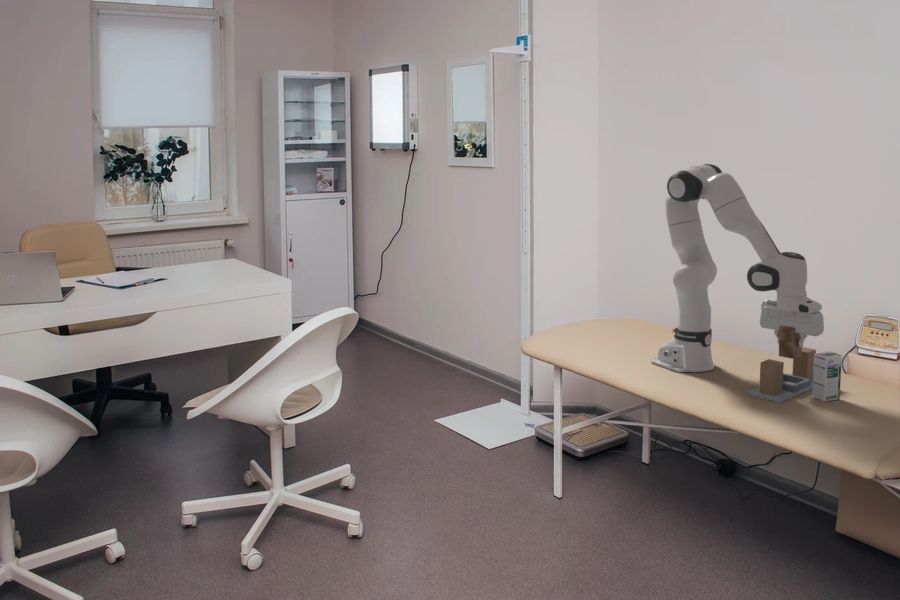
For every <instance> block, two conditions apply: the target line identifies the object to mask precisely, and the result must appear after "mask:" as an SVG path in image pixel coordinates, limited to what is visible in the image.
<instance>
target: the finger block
mask: <svg viewBox="0 0 900 600" xmlns="http://www.w3.org/2000/svg"><path fill="white" fill-rule="evenodd" d="M800 339H801V337H800V334H798V333H795V328H792V327H785V326H779V343H778V357H783V358H788V359H792V360H793V359H794V358H796V357H799V356H801V352H802V347H797V346H796V345H797V344H796V341H799V340H800Z"/></svg>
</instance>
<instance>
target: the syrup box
mask: <svg viewBox="0 0 900 600" xmlns="http://www.w3.org/2000/svg"><path fill="white" fill-rule="evenodd" d="M842 358H843V356H842V355H841V354H840V353H836V352H833V351H826V352H818V353H817V352H816V353H815V354H814V371H813V389H812V397H813V398H815V399H817V400H819V399H820V400H819V401H821V400H822V402H824V403H826V402H831V401H838V400H840V399H841V380H842V379H841V378H842V376H841V375H842Z"/></svg>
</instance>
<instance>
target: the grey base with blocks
mask: <svg viewBox="0 0 900 600" xmlns="http://www.w3.org/2000/svg"><path fill="white" fill-rule="evenodd" d="M815 353H817V349H815V348H811V347H810V348H809V347H804V346H803V347H802V352H801V356H799V357H796V358H794V359H792V373H789V374H788V373H784V366H785V365H784V363H785V362H784V361H780V360H776V359H770V358H768V359H766V360H764V361H761V362H760V365H759V366H760V367H759V368H760V369H759V370H760V371H759V386H758V387H755V388H752V389H750V390H749V391H748V392H747V395H748V396H750V395H751V397H754V396H755V397H756V398H758V397H760V398H759V399H762V398H764V399H763V400H766V399H768V401H770V400H772V401H771V402H774V401H776V402H775V403H778V402H780V403H779V404H781V403H784V402H785V401H788V400H789V399H792V398H794V397H796V395H797V396H799V395H801V394H803V392H804V393H806V392H808V391H811V390H813V389H812V388H813V371H814V354H815ZM807 390H808V391H807ZM805 391H806V392H805ZM798 394H799V395H798ZM787 399H788V400H787Z"/></svg>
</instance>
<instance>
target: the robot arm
mask: <svg viewBox="0 0 900 600" xmlns="http://www.w3.org/2000/svg"><path fill="white" fill-rule="evenodd" d="M666 190H667V193H668V195H667V196H666V198H665V213H666V214H665V216H666V217H665V218H666V221H667V222H666V223H667V226H668V231H669V236H670V240H671V246H672V248H673V249H674V251H675V252H676V253H677V256H678V258H679V261H680V266H679V267H678V268H677V269H676V271H675V272H674V274H673V278H672V283H673V286H674V288H675V292H676V294H675V295H676V297H677V304H678V305H677V306H678V325H677V327H676V328H673V329H672V330H671V331H672V332H671V333H672V334H674V335H673V337H671V338H670V339H669V340H667V341H666V342H664V343H663V344H661V345H660V347H659V348H658V352H657V356H655V357H653V358H651V361H650V362H651V364H654V365H656V366H659V367H662V368H664V369H669V370H670V371H674V372H677V373H687V372H689V373H703V372H708V371H709V372H710V371H712V370H713V369H715V364H714V361H713V354H712V337H713V333H712V328H711V325H712V321H711V320H712V317H711V316H712V306H711V304H710V299H709V295H708V288H709V286H710V285H712V283H713V282H714V281H715V279H716V277H717V273H718V268H717V265H716V263H715V262H714V260H713V257H712V255H711V252H710V249H709V248H708V245H707V243H706V242H707V241H706V239H705V235H704V230H703V226H702V222H701V217H700V212H699V208H698V205H699V202H700V201H701V199H702V200H706V201H707V202H708V203H709V204H710V207H711V209H712V212H713V213H714V216H715V217H716V220H717V221H718V222H719V224H720V225H721V226H722V228H723V229H724V230H725V231H726V230H727V231H728V232H732V233H735V234H738V235H741V236H742V237H744V238H745V239H747V240H748V241H749V243H750V244H751V246H752V247H753V249H754V251H755V252H756V254H757V256H758V257H759V259H760V262H756V263H755V264H753V265H751V266H750V267H749V268H748V271H747V273H746V279H747V283H748V285H749V286H750V287H751V289H753V290H754V291H756V292H757V291H758V292H771V291H776V300H770V299H766V300H764V301H762V303H761V305H760V306H761V307H760V309H761V312H760V318H759V325H760V327H761V329H769V330H772V331H774V335H775V337H776V339H777V344H779V326H785V327H792V328H795V333H798V334H800V337H801V339H800V340H799V341H796V344H797V345H796V346H797V347H804V342H805V340H806V339H807V337H808V336H811V337H812V336H813V337H819V336H821V335H822V334H823V333H824V328H825V326H824V325H825V321H824V315H823V313H822V312H821V311H822V309H823V305H822V303H820V302H818V301H815V300H813V299H811V298H809V297H807V296H808V295H807V294H808V293H807V290H806V287H807V284H808V265H807V260H806V258H805V256H804V255H802V254H800V253H797V252H792V251H790V252H789V251H785V252H781V251H780V250H779V248H778V247H777V246H776V244H775V242H774V240H773V239H772V237H771V236H770V234H769V232H768V230H767V228H766V227H765V226H764V224H763V222H761V220H760V219H759V217H758V216H757V215H756V213H755V211H754V210H753V208H752V206H751V204H750V203H749V201H748V199H747V197H746V195H745V193H744V191H743V190H742V188H741V186H740V185H739V184H738V182H737V181H736V179H735V178H734V176H732V174H730V173H728V172H723V171H722V170H721V168H720V167H719V166H717V165H716V164H711V163H705V164H702V165H700V164H699V165H693V166H690V167H689V168H686V169H681V170H678V171H676V172H674V173H673V174H671V176H670V177H668V180H667V183H666Z"/></svg>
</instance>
